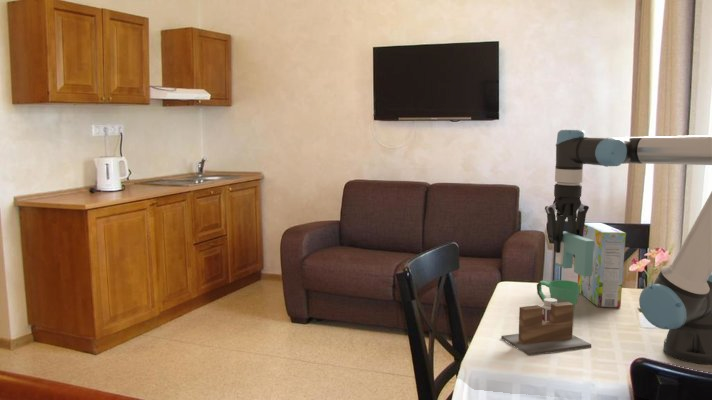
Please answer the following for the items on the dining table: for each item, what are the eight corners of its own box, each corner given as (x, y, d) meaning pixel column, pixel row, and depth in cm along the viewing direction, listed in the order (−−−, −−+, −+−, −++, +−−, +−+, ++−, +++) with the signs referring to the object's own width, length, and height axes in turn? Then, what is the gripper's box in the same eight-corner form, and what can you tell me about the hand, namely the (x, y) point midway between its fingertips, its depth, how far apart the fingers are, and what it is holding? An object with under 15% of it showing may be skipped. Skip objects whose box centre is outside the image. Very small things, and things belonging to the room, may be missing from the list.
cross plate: (591, 275, 177) (594, 240, 176) (584, 276, 177) (586, 241, 175) (562, 264, 191) (564, 231, 189) (555, 264, 190) (557, 231, 188)
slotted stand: (591, 347, 177) (593, 309, 176) (528, 355, 171) (530, 316, 170) (560, 331, 190) (561, 295, 189) (501, 338, 184) (502, 302, 183)
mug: (585, 314, 207) (586, 284, 205) (570, 320, 200) (571, 289, 199) (544, 304, 217) (545, 276, 216) (528, 310, 211) (529, 281, 209)
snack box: (623, 308, 213) (627, 232, 210) (597, 308, 213) (600, 232, 210) (599, 290, 235) (602, 221, 231) (575, 290, 235) (578, 221, 231)
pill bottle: (560, 326, 195) (561, 299, 194) (553, 329, 192) (554, 302, 191) (545, 322, 198) (546, 296, 197) (538, 326, 195) (539, 299, 194)
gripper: (583, 181, 190) (579, 258, 193) (537, 182, 186) (533, 261, 189) (599, 184, 183) (595, 264, 186) (551, 185, 179) (547, 267, 182)
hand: (564, 262), depth 188 cm, fingers closed on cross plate, 2 cm apart
